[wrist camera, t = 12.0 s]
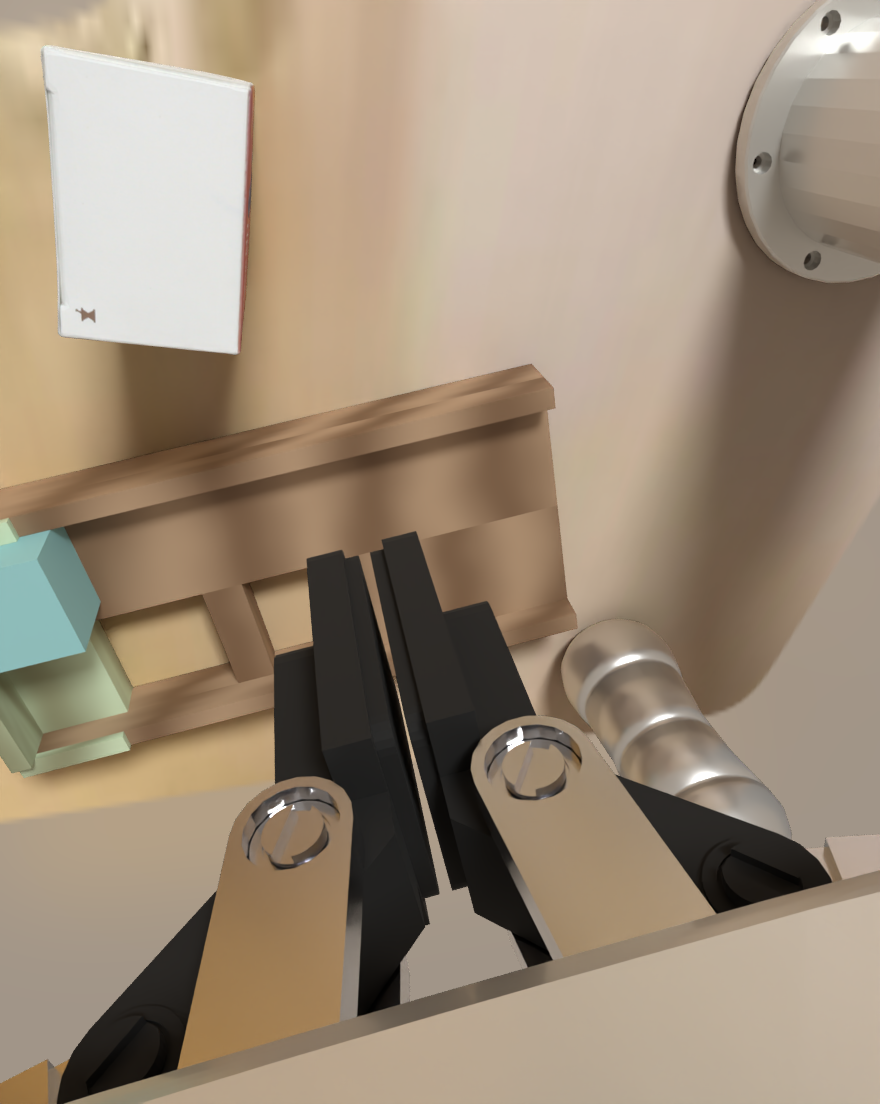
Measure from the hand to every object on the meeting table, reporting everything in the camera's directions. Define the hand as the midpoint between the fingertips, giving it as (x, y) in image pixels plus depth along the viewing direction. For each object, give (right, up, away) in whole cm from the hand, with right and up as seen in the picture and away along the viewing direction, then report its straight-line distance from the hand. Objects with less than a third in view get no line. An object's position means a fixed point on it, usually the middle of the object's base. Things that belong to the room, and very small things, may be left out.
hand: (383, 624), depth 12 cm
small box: (-10, +16, +20) cm, 28 cm away
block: (-19, 0, +25) cm, 31 cm away
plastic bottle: (+11, -5, +38) cm, 39 cm away
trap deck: (-8, +1, +30) cm, 31 cm away
